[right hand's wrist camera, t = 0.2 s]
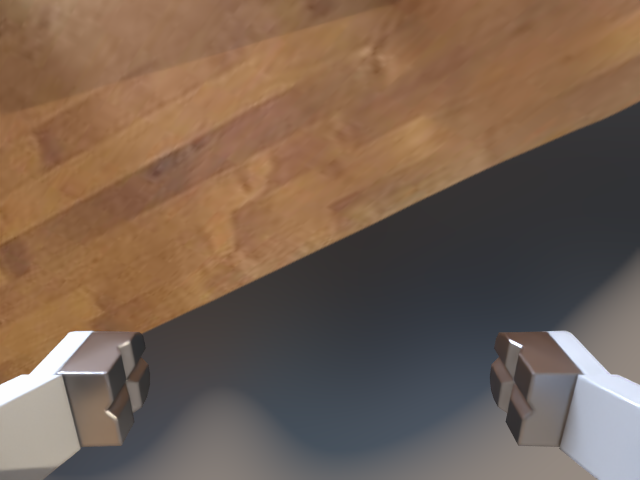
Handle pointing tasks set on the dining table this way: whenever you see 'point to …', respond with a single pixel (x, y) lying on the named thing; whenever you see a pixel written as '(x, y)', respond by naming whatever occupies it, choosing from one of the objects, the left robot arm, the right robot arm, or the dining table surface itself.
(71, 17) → the dining table surface
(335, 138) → the dining table surface
